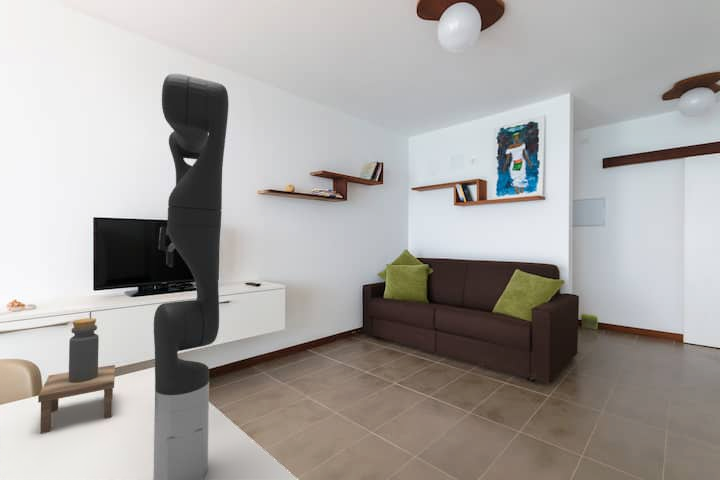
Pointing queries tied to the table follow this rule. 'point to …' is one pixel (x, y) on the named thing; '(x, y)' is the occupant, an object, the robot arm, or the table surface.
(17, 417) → the table surface
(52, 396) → the wooden bench
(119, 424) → the table surface
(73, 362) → the bottle
